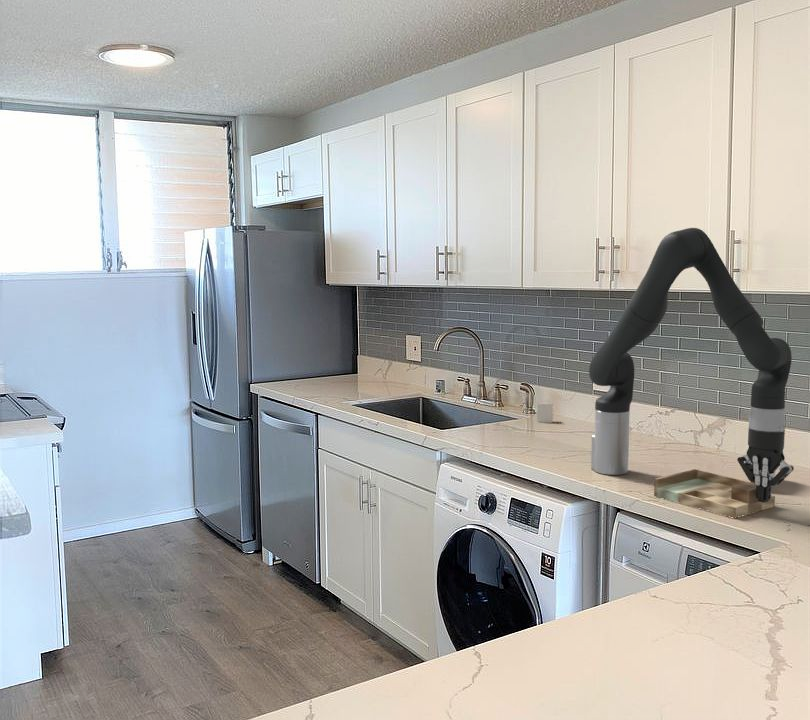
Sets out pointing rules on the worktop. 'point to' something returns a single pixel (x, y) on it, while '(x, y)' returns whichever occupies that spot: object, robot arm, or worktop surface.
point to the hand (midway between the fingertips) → (763, 501)
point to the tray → (707, 492)
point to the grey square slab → (545, 413)
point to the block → (744, 493)
